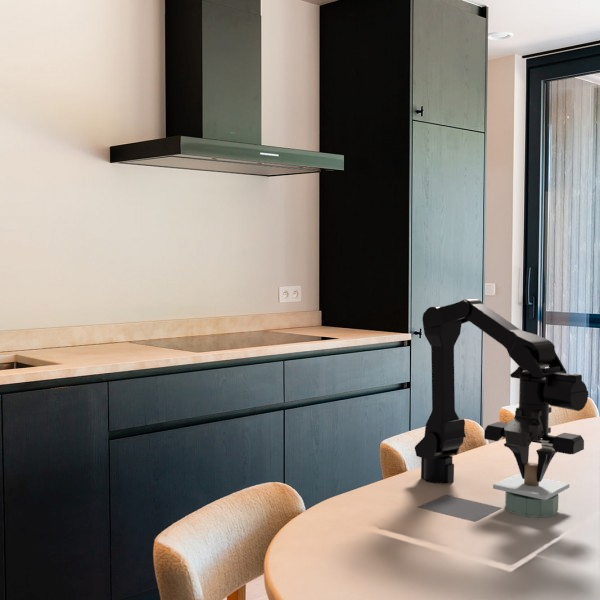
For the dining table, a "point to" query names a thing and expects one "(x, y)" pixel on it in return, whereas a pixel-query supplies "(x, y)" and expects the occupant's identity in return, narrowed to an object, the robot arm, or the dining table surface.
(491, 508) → the mat
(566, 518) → the dining table surface
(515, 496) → the bowl
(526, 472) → the lid
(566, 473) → the dining table surface
